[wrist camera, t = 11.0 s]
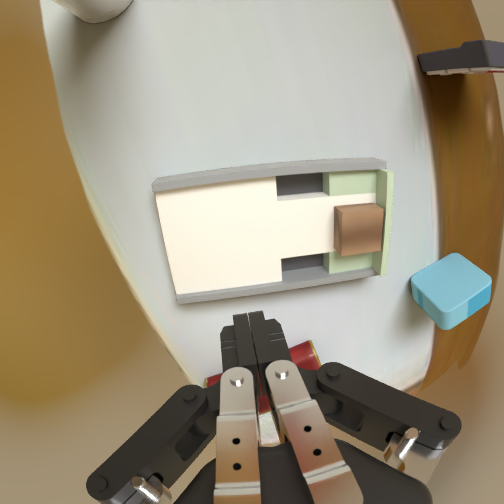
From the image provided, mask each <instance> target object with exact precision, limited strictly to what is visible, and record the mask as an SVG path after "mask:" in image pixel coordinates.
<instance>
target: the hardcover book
mask: <svg viewBox="0 0 504 504" xmlns="http://www.w3.org/2000/svg"><path fill="white" fill-rule="evenodd" d="M289 352H290V355H291V358H292V361H293V362H294V364H295V365H297V366H298V367H300V368H303V369H307V370H318V369H319V368H320V367H321V366H322V365H321V363H320V361H319V358H318V356H317V353H316V351H315V348H314V346H313V343H312V341H311V340H308V341H306V342H304V343H301V344H299V345H296V346H294V347H292V348H289ZM222 374H223V373H221V374H218V375H215V376H212V377H209V378H206V379H205V388H207V387H209V386H212V385H214V384H215V383H217V382H218V381H219V380H220V378H221V376H222ZM258 376H259V374H258ZM259 383H260V380H259ZM260 390H261V385H260ZM258 402H259V409H258V412H259V415H261V414H264V413H267V412H270V408H269V401H268V396H267V395H266V396H263V395H262V390H261V396H260V397H258Z"/></svg>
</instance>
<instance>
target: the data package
mask: <svg viewBox="0 0 504 504" xmlns="http://www.w3.org/2000/svg"><path fill="white" fill-rule="evenodd" d="M491 281H492V280H491V277H490V276H489V275H487V274H486V273H485V272H483V271H482V270H481V269H479V268H478V267H477V266H475V265H474V264H473V263H471V262H470V261H469V260H467V259H466V258H464V257H463V256H462V255H460V254H458V253H451V254H449V255H447V256H446V257H444V258H442V259H441V260H439V261H437V262H435V263H434V264H432V265H430V266H428V267H427V268H425V269H423V270H421V271H420V272H418V273H416V274H414V275H413V276H412V277H411V286H412V294H413V299H414V300H415V301H416V302H417V304H418V305H419V306H420V307H421V308H422V309H423V310H424V311H425V312H426V313H427V314H428V315H429V317H430V318H431V319H432V320H433V321H434V322H435V323H436V324H437V325H438V327H439V328H441V329H443V330H449V329H451V328H453V327H454V326H456V325H457V324H459V323H460V322H462V321H463V320H465V319H466V318H468V317H469V316H471V315H472V314H473V313H475V312H476V311H478V310H479V309H480V308H482V307H483V306H484V305H486V304H487V303H488V302H489V300H490V294H491Z"/></svg>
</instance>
